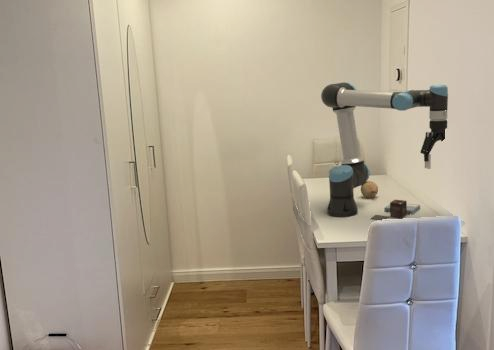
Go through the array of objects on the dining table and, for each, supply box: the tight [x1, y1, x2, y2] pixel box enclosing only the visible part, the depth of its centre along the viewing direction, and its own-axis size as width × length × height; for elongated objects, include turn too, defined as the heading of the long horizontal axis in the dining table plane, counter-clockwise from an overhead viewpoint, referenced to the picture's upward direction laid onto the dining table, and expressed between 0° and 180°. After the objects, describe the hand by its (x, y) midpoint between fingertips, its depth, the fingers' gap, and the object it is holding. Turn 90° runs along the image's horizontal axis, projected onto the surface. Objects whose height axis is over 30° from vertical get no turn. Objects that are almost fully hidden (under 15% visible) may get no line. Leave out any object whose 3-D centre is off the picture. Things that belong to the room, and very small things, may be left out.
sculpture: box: [360, 180, 379, 199], centre depth 269 cm, size 9×9×15 cm
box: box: [389, 199, 408, 219], centre depth 233 cm, size 6×6×7 cm
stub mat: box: [370, 214, 390, 221], centre depth 233 cm, size 7×6×1 cm
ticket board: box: [383, 203, 421, 216], centre depth 242 cm, size 14×12×2 cm
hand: (437, 166), depth 223 cm, fingers open, 13 cm apart
